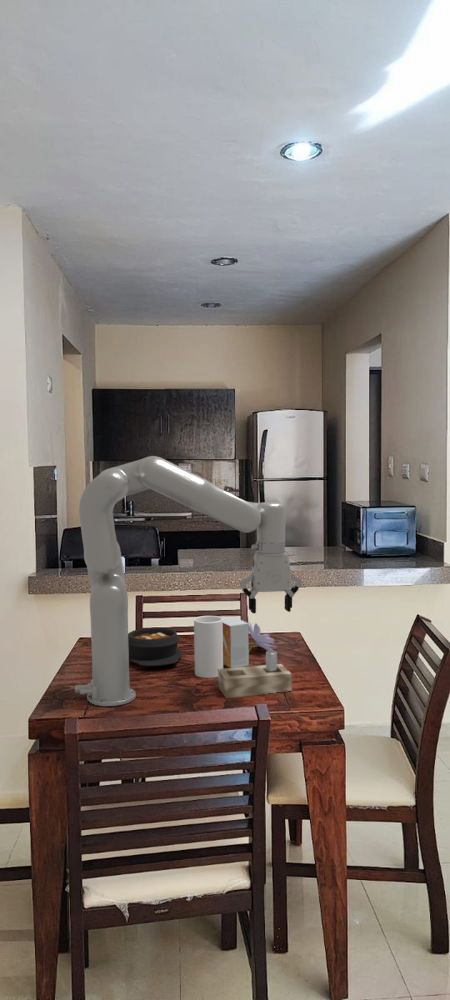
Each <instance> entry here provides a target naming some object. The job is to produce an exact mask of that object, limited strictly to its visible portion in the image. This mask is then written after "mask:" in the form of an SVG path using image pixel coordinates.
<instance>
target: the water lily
mask: <svg viewBox="0 0 450 1000" xmlns="http://www.w3.org/2000/svg"><path fill="white" fill-rule="evenodd" d="M244 622H246V623H248V621H247V620H246V619H245V621H244ZM248 633H249V634H250V636H251V637H252V639H253V640H254V641H253V643H252V644H251V645H250V646H249V653H250V652H251V650H252V649H253V647H254V646H255V645H256V646H257V647H259V648H263V649H264V650H266V651H269V650H273V648H278V647H277V646H275V645H273V644H275V643H276V641H275V639H274V638H273V637H270V636H271V635H270V633H263V634H261V628H260V625H258V623H257V622H255V623H254V627H253V626H252V623H251V621H250V620H249V623H248Z"/></svg>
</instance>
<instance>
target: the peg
mask: <svg viewBox="0 0 450 1000" xmlns="http://www.w3.org/2000/svg"><path fill="white" fill-rule="evenodd" d="M277 664H278V652H277V650H274V649H272V650H269V651H268V650H266V652H265V665H266V673H273V672H277Z"/></svg>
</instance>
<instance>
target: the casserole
mask: <svg viewBox="0 0 450 1000" xmlns="http://www.w3.org/2000/svg"><path fill="white" fill-rule="evenodd" d="M177 633H178V632H176V630H174V629H172V628H166V627H144V628H139V629H135V630H132V631H129V632H128V647H129V662H132V663H134V664H137V665H139V666H142V667H161V666H167V665H174V664H176V663H177V662H179V660H180V658H181V656H183V654H184V652H183V650H182V649H181V648H178V644H179V642H180V640H181V638H180V637H179V636H178V634H177Z"/></svg>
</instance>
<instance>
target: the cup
mask: <svg viewBox="0 0 450 1000" xmlns="http://www.w3.org/2000/svg"><path fill="white" fill-rule="evenodd" d="M222 620H223V618H222V617H221V616H218V615H202V616H201V615H200V616H197V617H194V618H193V640H194V642H193V643H194V644H193V645H194V647H193V649H194V651H193V652H194V675H195V676H196V677H199V678H205V679H207V678H208V679H209V678H210V679H211V678H218V669H224V664H223V623H222Z"/></svg>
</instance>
